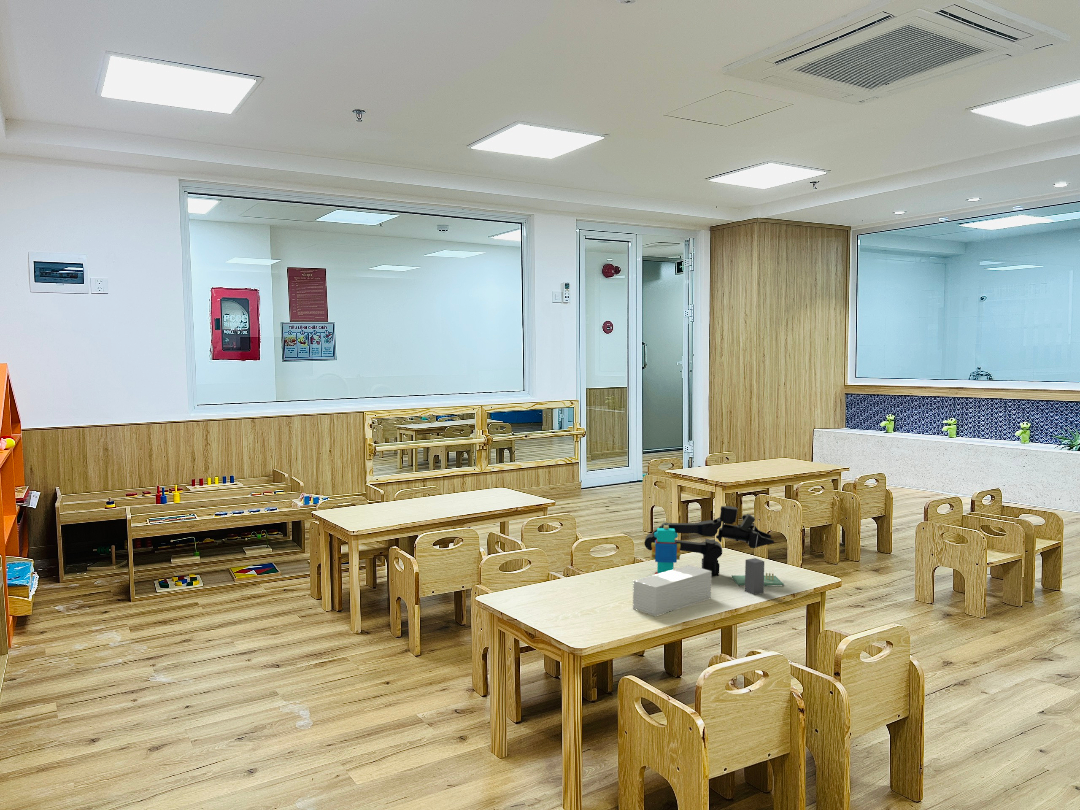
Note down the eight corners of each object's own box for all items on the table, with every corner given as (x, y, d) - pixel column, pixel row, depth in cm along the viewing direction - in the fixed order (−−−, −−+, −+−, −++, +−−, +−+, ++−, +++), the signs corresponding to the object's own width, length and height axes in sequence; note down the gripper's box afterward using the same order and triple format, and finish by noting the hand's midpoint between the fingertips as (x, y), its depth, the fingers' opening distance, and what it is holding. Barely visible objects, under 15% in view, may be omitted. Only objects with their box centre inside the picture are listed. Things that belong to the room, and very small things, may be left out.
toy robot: (678, 577, 324) (680, 518, 322) (679, 582, 318) (681, 521, 316) (650, 576, 325) (651, 517, 324) (651, 581, 319) (652, 520, 318)
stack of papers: (655, 617, 277) (655, 587, 276) (632, 609, 285) (633, 580, 284) (710, 598, 298) (711, 571, 297) (688, 592, 306) (689, 565, 305)
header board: (738, 585, 314) (738, 577, 314) (731, 577, 325) (731, 569, 325) (783, 586, 314) (783, 577, 314) (775, 578, 325) (775, 569, 325)
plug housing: (744, 591, 307) (745, 559, 306) (754, 589, 309) (755, 558, 308) (753, 594, 303) (754, 562, 302) (763, 592, 305) (764, 561, 304)
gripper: (738, 518, 317) (778, 525, 314) (735, 509, 335) (773, 515, 333) (734, 545, 318) (773, 552, 315) (731, 534, 336) (768, 541, 334)
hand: (772, 539), depth 324 cm, fingers open, 9 cm apart
